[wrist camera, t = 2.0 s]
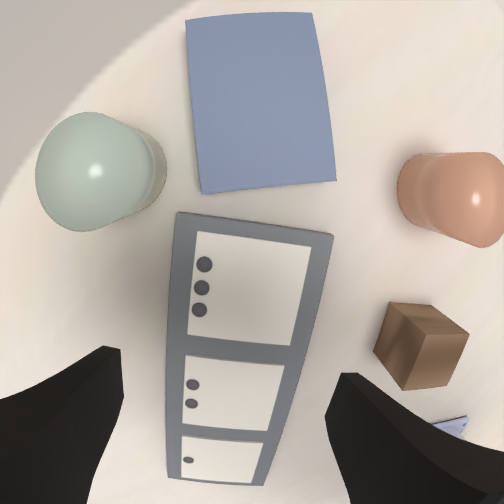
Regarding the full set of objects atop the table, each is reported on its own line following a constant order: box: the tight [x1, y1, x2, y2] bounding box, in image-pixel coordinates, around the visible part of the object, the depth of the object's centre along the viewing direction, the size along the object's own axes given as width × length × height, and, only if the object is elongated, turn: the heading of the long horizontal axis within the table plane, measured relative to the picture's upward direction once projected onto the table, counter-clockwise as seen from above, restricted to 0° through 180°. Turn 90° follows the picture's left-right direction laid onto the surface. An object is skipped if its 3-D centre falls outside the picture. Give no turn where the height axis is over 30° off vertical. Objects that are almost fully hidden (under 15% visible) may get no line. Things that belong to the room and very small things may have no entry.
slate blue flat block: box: [185, 12, 337, 195], centre depth 15 cm, size 10×7×2 cm
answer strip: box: [166, 212, 334, 486], centre depth 20 cm, size 24×9×1 cm, turn 171°
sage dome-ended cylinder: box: [35, 112, 167, 232], centre depth 14 cm, size 5×5×6 cm
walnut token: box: [373, 302, 470, 391], centre depth 18 cm, size 4×4×5 cm
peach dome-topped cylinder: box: [397, 152, 504, 248], centre depth 15 cm, size 5×5×6 cm
